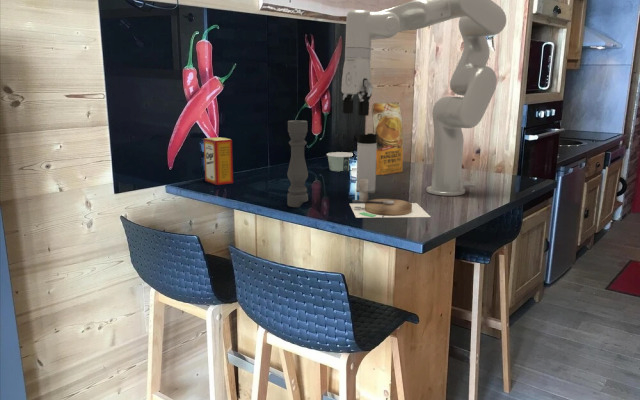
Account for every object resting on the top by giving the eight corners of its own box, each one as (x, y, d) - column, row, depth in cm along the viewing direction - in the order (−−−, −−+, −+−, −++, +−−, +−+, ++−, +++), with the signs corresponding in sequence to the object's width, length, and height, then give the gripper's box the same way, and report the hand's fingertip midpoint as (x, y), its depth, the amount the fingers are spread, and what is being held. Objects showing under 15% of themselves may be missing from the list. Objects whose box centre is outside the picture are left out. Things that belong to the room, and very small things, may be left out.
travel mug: (360, 195, 176) (361, 133, 172) (353, 191, 183) (355, 131, 178) (378, 194, 178) (380, 133, 174) (371, 190, 184) (372, 131, 180)
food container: (322, 168, 229) (322, 152, 227) (349, 166, 232) (349, 151, 231) (331, 172, 217) (331, 156, 216) (359, 171, 221) (359, 155, 220)
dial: (412, 205, 156) (413, 177, 154) (410, 216, 143) (412, 186, 142) (355, 202, 159) (356, 175, 157) (349, 212, 147) (349, 183, 145)
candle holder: (307, 202, 166) (308, 120, 160) (308, 207, 159) (308, 122, 154) (287, 202, 165) (287, 120, 160) (287, 207, 159) (286, 122, 154)
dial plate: (416, 208, 160) (416, 202, 159) (430, 222, 144) (430, 216, 144) (349, 208, 158) (349, 202, 158) (355, 222, 143) (356, 216, 142)
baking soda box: (205, 180, 199) (203, 137, 195) (221, 178, 202) (220, 136, 199) (216, 185, 191) (215, 139, 188) (233, 183, 195) (231, 138, 191)
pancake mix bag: (364, 174, 215) (366, 102, 208) (396, 169, 227) (399, 101, 220) (376, 176, 210) (378, 103, 203) (409, 171, 222) (412, 102, 215)
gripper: (333, 55, 164) (331, 112, 167) (360, 53, 148) (358, 116, 152) (355, 56, 167) (352, 112, 170) (384, 54, 151) (381, 116, 155)
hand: (355, 114), depth 161 cm, fingers open, 9 cm apart
